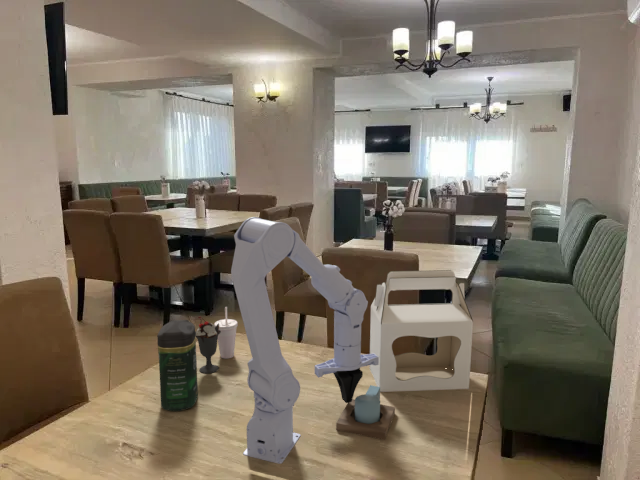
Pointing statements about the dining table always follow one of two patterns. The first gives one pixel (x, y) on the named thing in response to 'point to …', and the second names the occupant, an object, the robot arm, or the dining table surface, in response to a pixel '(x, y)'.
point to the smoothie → (226, 336)
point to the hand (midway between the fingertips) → (346, 400)
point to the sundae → (208, 344)
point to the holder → (370, 430)
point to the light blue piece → (368, 406)
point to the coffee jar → (177, 365)
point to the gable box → (421, 334)
